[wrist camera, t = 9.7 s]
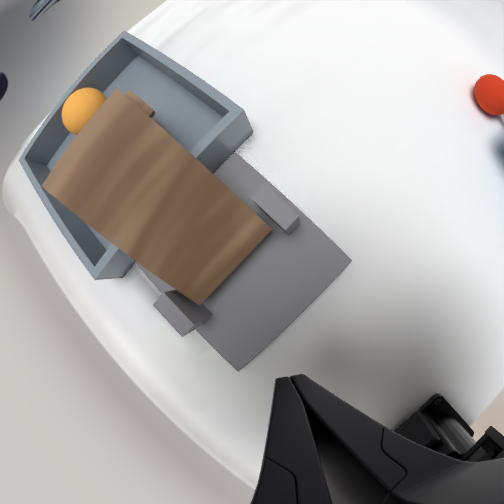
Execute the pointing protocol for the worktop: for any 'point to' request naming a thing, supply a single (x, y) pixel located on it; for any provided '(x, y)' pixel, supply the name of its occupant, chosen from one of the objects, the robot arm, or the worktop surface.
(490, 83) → the lever
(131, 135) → the brown wooden angled piece
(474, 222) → the worktop surface
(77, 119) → the ball
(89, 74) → the bin
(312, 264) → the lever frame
